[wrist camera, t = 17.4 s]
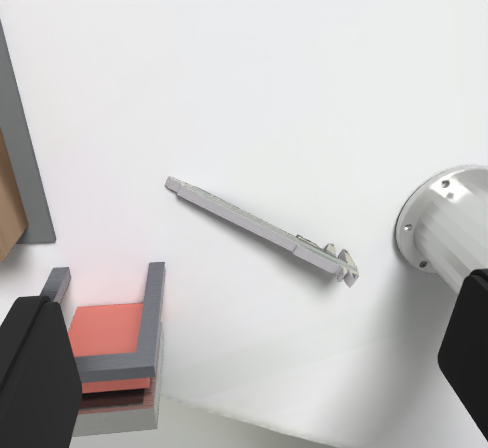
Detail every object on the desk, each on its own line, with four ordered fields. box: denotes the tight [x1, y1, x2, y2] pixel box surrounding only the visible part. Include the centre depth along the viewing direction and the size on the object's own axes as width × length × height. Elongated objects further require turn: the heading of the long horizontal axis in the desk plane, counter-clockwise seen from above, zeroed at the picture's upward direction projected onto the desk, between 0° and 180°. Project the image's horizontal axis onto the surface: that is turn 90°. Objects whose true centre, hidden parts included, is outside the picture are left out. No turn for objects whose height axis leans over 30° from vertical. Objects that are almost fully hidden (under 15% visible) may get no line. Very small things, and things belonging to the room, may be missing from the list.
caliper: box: [165, 176, 359, 287], centre depth 38 cm, size 20×1×6 cm, turn 62°
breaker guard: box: [40, 262, 165, 437], centre depth 38 cm, size 11×11×14 cm
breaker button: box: [68, 303, 150, 393], centre depth 40 cm, size 8×2×9 cm, turn 89°
